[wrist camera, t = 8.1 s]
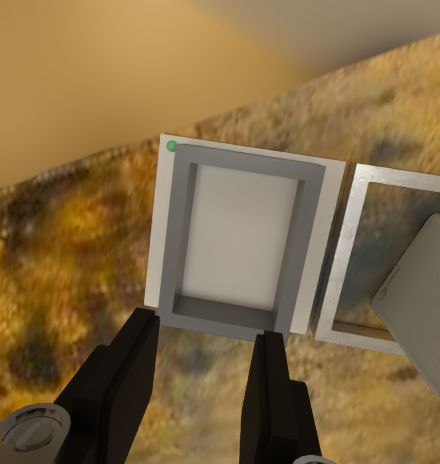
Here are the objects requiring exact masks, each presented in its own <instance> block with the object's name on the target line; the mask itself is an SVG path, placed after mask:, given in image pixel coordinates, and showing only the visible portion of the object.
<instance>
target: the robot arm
mask: <svg viewBox="0 0 440 464" xmlns="http://www.w3.org/2000/svg"><path fill="white" fill-rule="evenodd" d="M159 326H160V316H156V315H155V311H154V310H149V309H144V308H138V307H137V308H136V309H135V310H134V312H133V313H132V314H131V316H130V317H129V319H128V320H127V321H126V323H125V324H124V326H123V327H122V328H121V330H120V331H119V333H118V334H117V335H116V337H115V338H114V340H113V341H112V342H111V344H110V345H109V346H106V345H98V346H97V347H96V348H95V349H94V351H93V352H92V353H91V355H90V356H89V357H88V359H87V360H86V361H85V362H84V364H83V365H82V366H81V368H80V369H79V370H78V372H77V373H76V374H75V375H74V377H73V378H72V379H71V381H70V382H69V383H68V385H67V386H66V387H65V388H64V390H63V391H62V392H61V394H60V395H59V396H58V398H57V399H56V400H55V401H54V403H53V404H52V403H36V404H32V405H27V406H25V407H22V408H20V409H17V410H16V411H14V412H12V413H11V414H9V415H8V416H6V417H5V418H4V419H3V420H2V421H1V422H0V464H124V463H125V461H126V458H127V456H128V453H129V451H130V448H131V446H132V443H133V441H134V438H135V436H136V433H137V431H138V428H139V426H140V423H141V421H142V418H143V416H144V413H145V411H146V408H147V406H148V403H149V401H150V398H151V394H152V389H153V380H154V371H155V362H156V353H157V344H158V335H159ZM239 464H336V463H335V462H333V461H332V460H329V459H327V458H324V457H322V453H321V449H320V444H319V440H318V435H317V431H316V426H315V422H314V417H313V413H312V408H311V404H310V399H309V395H308V390H307V386H306V384H305V383H304V382H300V381H295V380H290V378H289V371H288V365H287V359H286V352H285V346H284V339H283V334H282V333H278V332H272V331H267V330H264V333H263V335H262V334H257V335H256V340H255V345H254V350H253V355H252V360H251V365H250V371H249V376H248V381H247V386H246V391H245V396H244V401H243V407H242V414H241V432H240V455H239Z"/></svg>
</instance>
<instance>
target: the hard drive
mask: <svg viewBox="0 0 440 464" xmlns="http://www.w3.org/2000/svg"><path fill="white" fill-rule="evenodd" d="M371 307H372V308H373V309H374V311H375V312H376V314H377V315H378V316H379V318H380V319H381V321H382V322H383V323H384V325H385V326H386V328H387V329H388V330H389V332H390V333H391V334H392V336H393V337H394V339H395V340H396V342H397V343H398V345H399V346H400V347H401V349H402V350H403V351H404V353H405V354H406V356H407V357H408V358H409V360H410V361H411V363H412V364H413V365H414V367H415V368H416V370H417V371H418V373H419V374H420V375H421V377H422V378H423V379H424V381H425V382H426V384H427V385H428V386H429V388H430V389H431V391H432V392H433V393H434V395H435V396H436V397H437V399H438V400H439V401H440V214H439V213H434V214H433V215H431V216H430V217H429V218H428V220H427V221H426V223H425V224H424V226H423V227H422V228H421V230H420V231H419V233H418V234H417V235H416V237H415V238H414V240H413V241H412V243H411V244H410V246H409V247H408V248H407V250H406V251H405V253H404V254H403V256H402V257H401V258H400V260H399V261H398V263H397V264H396V266H395V267H394V269H393V270H392V272H391V273H390V274H389V276H388V277H387V279H386V280H385V281H384V283H383V285H382V286H381V287H380V289H379V290H378V292H377V293H376V295H375V296H374V298H373V299H372V301H371Z"/></svg>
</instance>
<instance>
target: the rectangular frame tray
mask: <svg viewBox="0 0 440 464" xmlns="http://www.w3.org/2000/svg"><path fill="white" fill-rule="evenodd" d="M369 181H370V182H377V183H383V184H390V185H396V186H402V187H409V188H415V189H422V190H428V191H435V192H440V176H437V175H431V174H424V173H418V172H411V171H404V170H398V169H391V168H385V167H378V166H371V165H365V164H358V163H352V162H351V166H350V170H349V174H348V178H347V182H346V186H345V191H344V195H343V199H342V203H341V207H340V211H339V216H338V220H337V224H336V228H335V232H334V237H333V241H332V245H331V249H330V253H329V257H328V262H327V266H326V270H325V274H324V278H323V282H322V287H321V291H320V295H319V299H318V303H317V308H316V312H315V316H314V320H313V324H312V328H311V330H312V333H313V337H314V340H319V341H324V342H330V343H335V344H341V345H346V346H351V347H357V348H362V349H368V350H373V351H379V352H384V353H389V354H395V355H400V356H406V354H405V353H404V351H403V350H402V349H401V347H400V346H399V345H398V343H397V342H396V340H395V339H394V337H393V336H392V334H391V333H390V332H389V331H384V330H378V329H373V328H367V327H362V326H356V325H350V324H345V323H339V322H334V321H333V320H334V316H335V312H336V309H337V305H338V301H339V297H340V293H341V289H342V285H343V281H344V277H345V273H346V269H347V266H348V262H349V258H350V254H351V250H352V246H353V242H354V238H355V234H356V230H357V227H358V223H359V219H360V215H361V211H362V207H363V203H364V199H365V195H366V191H367V187H368V184H369ZM406 357H407V356H406Z"/></svg>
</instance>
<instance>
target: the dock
mask: <svg viewBox="0 0 440 464" xmlns="http://www.w3.org/2000/svg"><path fill="white" fill-rule="evenodd" d="M345 164H346V162H345V161H338V160H332V159H325V158H319V157H312V156H305V155H299V154H292V153H286V152H279V151H272V150H266V149H259V148H253V147H246V146H239V145H233V144H226V143H220V142H213V141H206V140H200V139H193V138H187V137H180V136H173V135H167V134H161V136H160V147H159V157H158V167H157V177H156V188H155V198H154V208H153V218H152V229H151V239H150V249H149V259H148V269H147V280H146V290H145V300H144V305H147V306H152V307H158V312H157V316H160V325H165V326H171V327H176V328H181V329H187V330H192V331H197V332H203V333H208V334H213V335H219V336H224V337H230V338H235V339H240V340H246V341H251V342H255V340H256V335H257V334H262V335H263V333H264V330H267V331H272V332H278V333H282V334H283V339H284V346H285V348H286V346H287V341H288V337H289V332H294V333H299V334H306V330H307V326H308V321H309V317H310V313H311V309H312V304H313V300H314V296H315V292H316V287H317V283H318V279H319V275H320V270H321V266H322V262H323V258H324V253H325V249H326V245H327V241H328V237H329V232H330V228H331V224H332V220H333V215H334V211H335V207H336V203H337V198H338V194H339V190H340V186H341V181H342V177H343V173H344V169H345Z"/></svg>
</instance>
